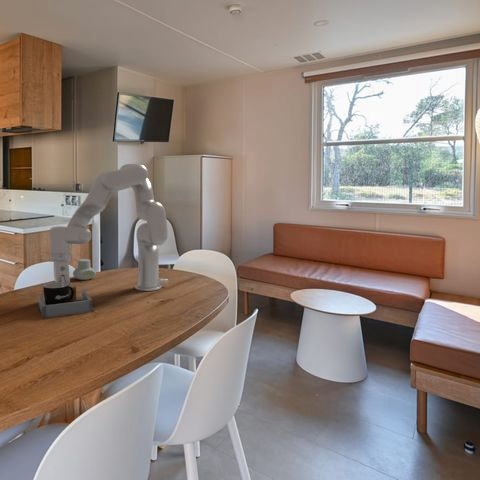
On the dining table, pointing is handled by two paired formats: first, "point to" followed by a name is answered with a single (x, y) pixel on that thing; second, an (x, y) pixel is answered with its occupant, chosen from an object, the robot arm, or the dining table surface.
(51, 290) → the mug
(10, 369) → the dining table surface
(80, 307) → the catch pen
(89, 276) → the air freshener
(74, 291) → the light brown rectangular block
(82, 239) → the robot arm
